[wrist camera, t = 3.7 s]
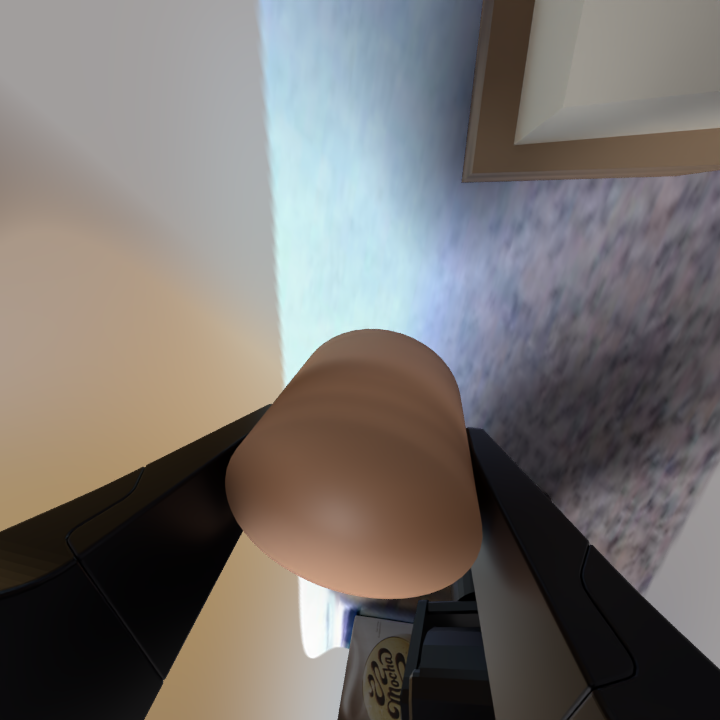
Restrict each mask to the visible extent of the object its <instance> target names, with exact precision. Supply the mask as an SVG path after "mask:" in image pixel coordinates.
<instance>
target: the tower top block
mask: <svg viewBox="0 0 720 720" xmlns="http://www.w3.org/2000/svg"><path fill="white" fill-rule="evenodd" d="M712 128H720V0H535V5H534V11H533V18H532V25H531V32H530V38H529V45H528V52H527V59H526V65H525V72H524V79H523V86H522V92H521V99H520V106H519V113H518V119H517V126H516V133H515V140H514V145H523V144H535V143H547V142H558V141H570V140H582V139H594V138H606V137H617V136H629V135H641V134H653V133H664V132H676V131H688V130H700V129H712Z"/></svg>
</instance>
